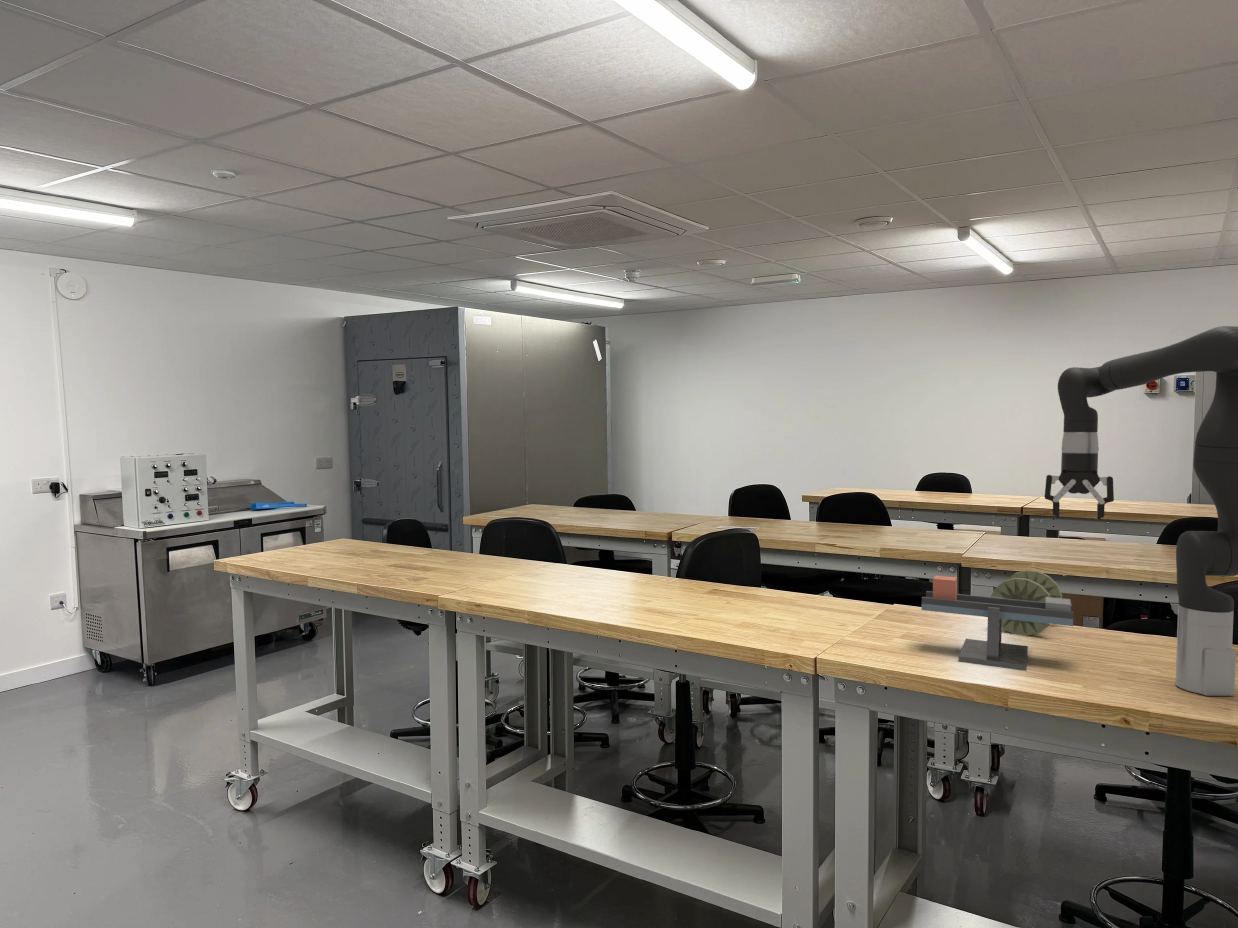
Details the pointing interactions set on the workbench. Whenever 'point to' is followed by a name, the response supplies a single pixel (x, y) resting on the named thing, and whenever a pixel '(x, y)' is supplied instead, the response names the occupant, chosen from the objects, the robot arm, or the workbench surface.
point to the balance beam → (1004, 608)
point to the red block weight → (945, 587)
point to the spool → (1027, 597)
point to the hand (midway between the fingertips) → (1077, 518)
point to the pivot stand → (994, 647)
